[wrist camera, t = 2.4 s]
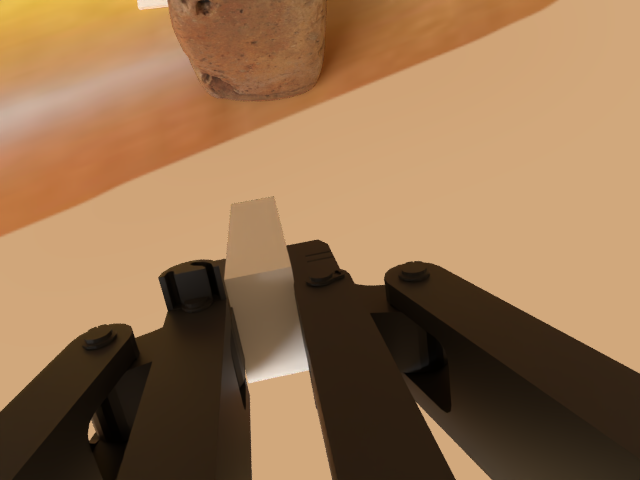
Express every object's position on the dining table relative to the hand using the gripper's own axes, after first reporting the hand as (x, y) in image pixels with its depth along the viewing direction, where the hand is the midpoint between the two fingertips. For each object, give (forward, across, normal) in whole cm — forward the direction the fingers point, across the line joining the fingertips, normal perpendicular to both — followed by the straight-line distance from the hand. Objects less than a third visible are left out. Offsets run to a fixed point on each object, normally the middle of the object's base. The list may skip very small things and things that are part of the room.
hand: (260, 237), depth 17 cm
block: (+32, +2, +6) cm, 33 cm away
